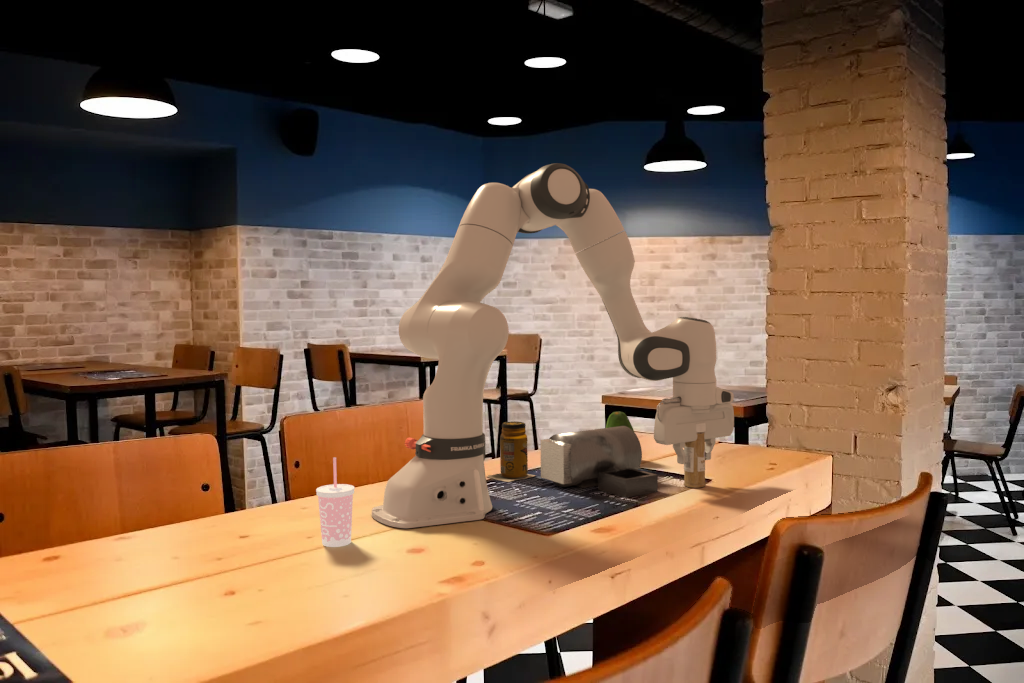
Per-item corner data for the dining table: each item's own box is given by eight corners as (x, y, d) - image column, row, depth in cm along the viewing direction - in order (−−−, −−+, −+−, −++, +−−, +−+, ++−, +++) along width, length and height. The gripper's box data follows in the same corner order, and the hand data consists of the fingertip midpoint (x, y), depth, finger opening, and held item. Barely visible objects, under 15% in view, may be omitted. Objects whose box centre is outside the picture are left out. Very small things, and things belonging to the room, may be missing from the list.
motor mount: (599, 502, 157) (598, 446, 157) (536, 483, 174) (536, 431, 174) (684, 486, 170) (684, 433, 169) (618, 469, 187) (618, 421, 187)
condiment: (536, 476, 181) (535, 422, 181) (508, 482, 175) (507, 427, 175) (513, 471, 187) (512, 419, 186) (485, 477, 181) (484, 423, 180)
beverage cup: (310, 542, 134) (308, 457, 133) (344, 534, 138) (342, 452, 137) (328, 551, 129) (326, 463, 128) (362, 543, 133) (360, 457, 132)
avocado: (598, 458, 200) (598, 409, 199) (628, 456, 202) (628, 408, 202) (611, 465, 192) (611, 414, 192) (642, 462, 194) (642, 412, 194)
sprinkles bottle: (708, 488, 168) (708, 423, 168) (686, 488, 168) (686, 423, 167) (701, 483, 173) (701, 419, 172) (680, 483, 173) (680, 420, 172)
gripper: (668, 400, 161) (668, 470, 162) (739, 393, 172) (739, 458, 173) (646, 397, 166) (646, 465, 167) (716, 390, 178) (716, 453, 178)
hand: (694, 461), depth 170 cm, fingers open, 5 cm apart
